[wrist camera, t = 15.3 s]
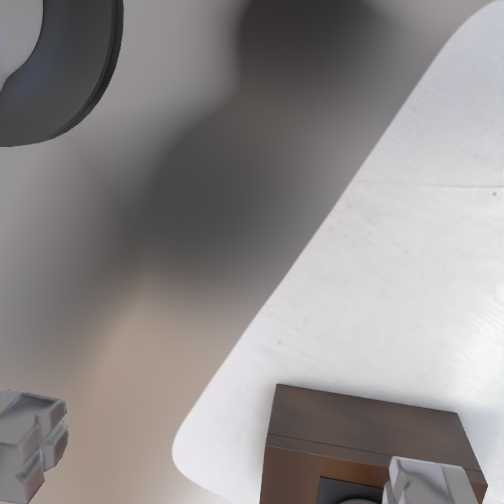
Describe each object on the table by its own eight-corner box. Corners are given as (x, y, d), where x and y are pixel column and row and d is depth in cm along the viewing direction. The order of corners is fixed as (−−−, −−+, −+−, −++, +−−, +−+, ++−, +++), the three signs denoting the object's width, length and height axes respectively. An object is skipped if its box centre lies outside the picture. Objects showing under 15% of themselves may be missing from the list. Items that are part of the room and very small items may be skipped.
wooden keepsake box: (266, 475, 54) (249, 578, 42) (276, 383, 49) (260, 470, 37) (430, 507, 51) (461, 625, 39) (457, 413, 46) (501, 516, 35)
